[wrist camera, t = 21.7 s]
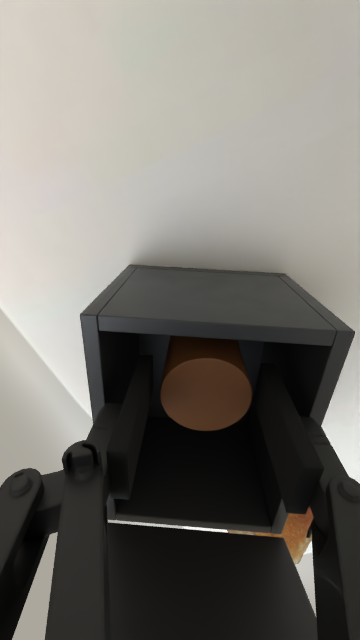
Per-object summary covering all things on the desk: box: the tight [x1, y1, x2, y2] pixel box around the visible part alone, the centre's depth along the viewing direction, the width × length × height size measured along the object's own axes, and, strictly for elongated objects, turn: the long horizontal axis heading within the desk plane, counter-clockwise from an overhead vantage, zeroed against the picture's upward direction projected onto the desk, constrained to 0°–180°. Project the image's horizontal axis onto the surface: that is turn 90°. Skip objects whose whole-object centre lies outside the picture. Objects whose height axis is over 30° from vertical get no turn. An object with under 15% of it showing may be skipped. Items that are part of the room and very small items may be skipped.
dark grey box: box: [80, 265, 355, 534], centre depth 19 cm, size 16×12×10 cm
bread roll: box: [227, 506, 313, 564], centre depth 30 cm, size 10×10×8 cm
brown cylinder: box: [160, 335, 252, 431], centre depth 17 cm, size 5×5×7 cm
